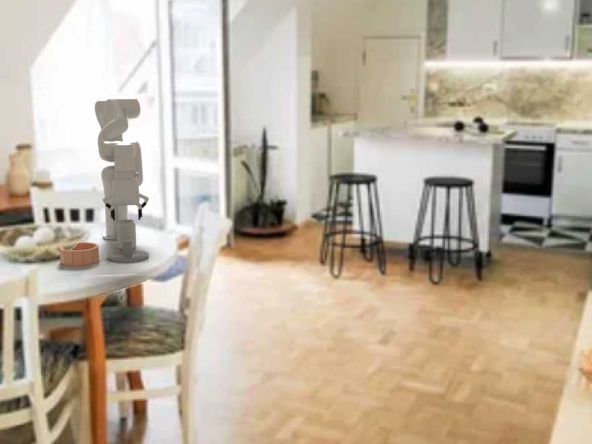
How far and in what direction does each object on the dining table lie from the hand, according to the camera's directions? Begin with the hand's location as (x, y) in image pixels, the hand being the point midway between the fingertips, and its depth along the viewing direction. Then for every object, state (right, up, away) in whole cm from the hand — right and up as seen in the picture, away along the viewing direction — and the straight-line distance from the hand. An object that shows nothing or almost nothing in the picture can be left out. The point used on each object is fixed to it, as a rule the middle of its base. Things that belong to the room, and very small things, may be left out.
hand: (126, 219), depth 282 cm
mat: (0, -15, +4) cm, 16 cm away
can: (-4, -12, +19) cm, 23 cm away
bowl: (-18, -16, -1) cm, 24 cm away
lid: (0, -15, +4) cm, 15 cm away
